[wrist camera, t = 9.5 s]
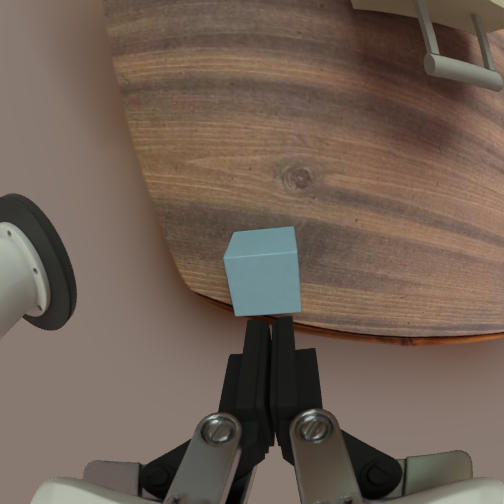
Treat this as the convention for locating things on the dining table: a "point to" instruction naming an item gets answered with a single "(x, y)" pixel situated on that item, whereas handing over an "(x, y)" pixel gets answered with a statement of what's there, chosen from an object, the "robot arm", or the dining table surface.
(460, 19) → the drawer
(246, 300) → the soap block
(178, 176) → the dining table surface
